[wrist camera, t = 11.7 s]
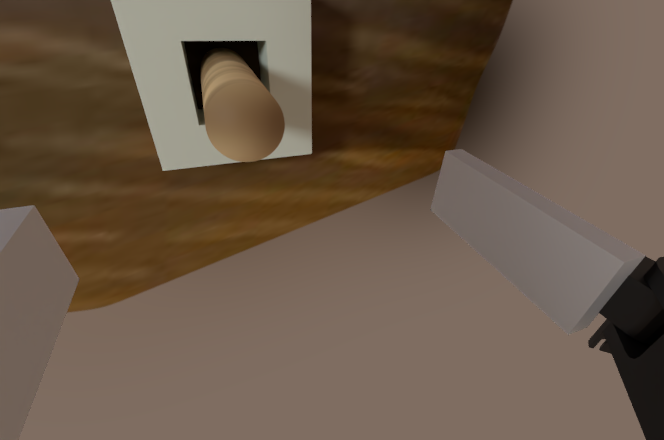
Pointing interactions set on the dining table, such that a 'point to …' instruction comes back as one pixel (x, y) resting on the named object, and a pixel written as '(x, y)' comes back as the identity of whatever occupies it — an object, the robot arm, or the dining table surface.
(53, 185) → the dining table surface
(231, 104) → the oak peg
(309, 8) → the socket block
